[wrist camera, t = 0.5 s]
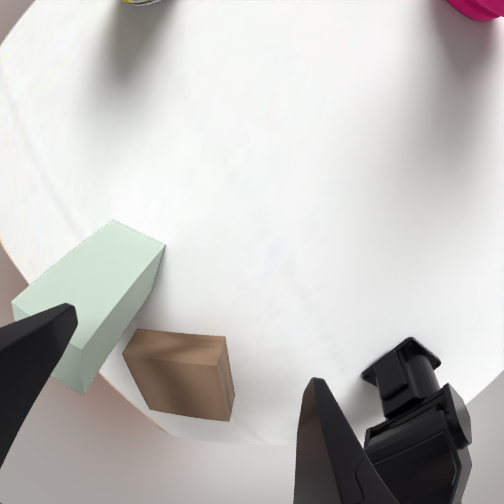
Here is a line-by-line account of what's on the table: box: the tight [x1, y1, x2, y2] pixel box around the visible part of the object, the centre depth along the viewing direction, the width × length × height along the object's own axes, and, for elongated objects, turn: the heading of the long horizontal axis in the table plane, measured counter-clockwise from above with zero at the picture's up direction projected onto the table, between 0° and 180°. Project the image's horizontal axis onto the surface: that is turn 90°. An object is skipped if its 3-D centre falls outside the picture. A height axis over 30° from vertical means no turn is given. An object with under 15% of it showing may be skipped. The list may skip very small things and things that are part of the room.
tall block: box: [12, 219, 166, 395], centre depth 18 cm, size 5×5×12 cm
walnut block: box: [122, 329, 235, 422], centre depth 27 cm, size 9×9×4 cm
